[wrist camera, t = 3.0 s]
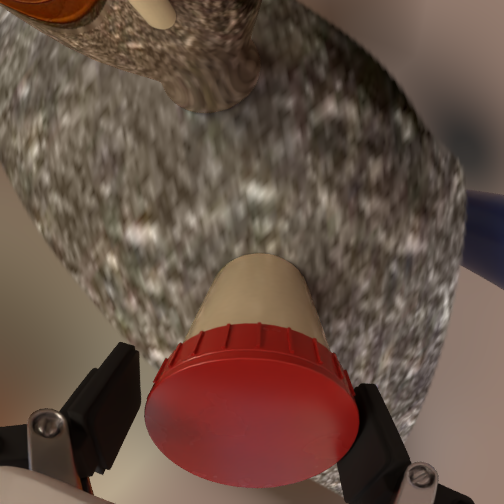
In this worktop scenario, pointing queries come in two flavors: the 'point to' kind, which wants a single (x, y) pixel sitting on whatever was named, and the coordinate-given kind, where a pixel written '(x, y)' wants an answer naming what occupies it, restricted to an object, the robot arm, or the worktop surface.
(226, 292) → the jar
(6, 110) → the worktop surface
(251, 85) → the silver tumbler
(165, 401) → the red lid
